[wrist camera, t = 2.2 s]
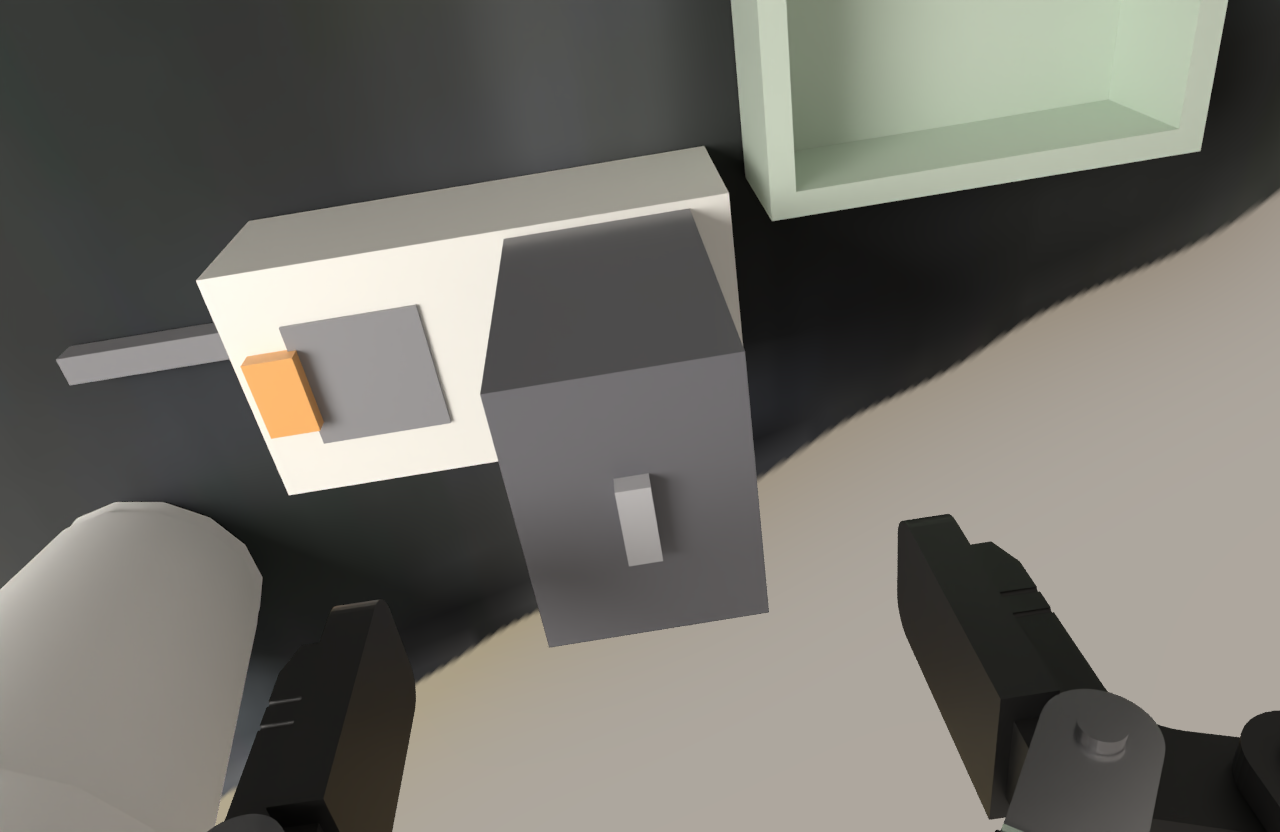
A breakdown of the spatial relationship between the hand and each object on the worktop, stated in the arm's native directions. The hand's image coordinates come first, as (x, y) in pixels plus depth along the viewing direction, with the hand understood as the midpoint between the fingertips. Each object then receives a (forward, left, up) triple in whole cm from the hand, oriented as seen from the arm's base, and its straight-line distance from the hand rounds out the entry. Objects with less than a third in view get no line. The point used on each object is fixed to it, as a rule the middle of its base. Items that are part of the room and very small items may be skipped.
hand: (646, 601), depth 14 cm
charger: (0, 0, -11) cm, 11 cm away
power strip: (0, -6, -13) cm, 14 cm away
